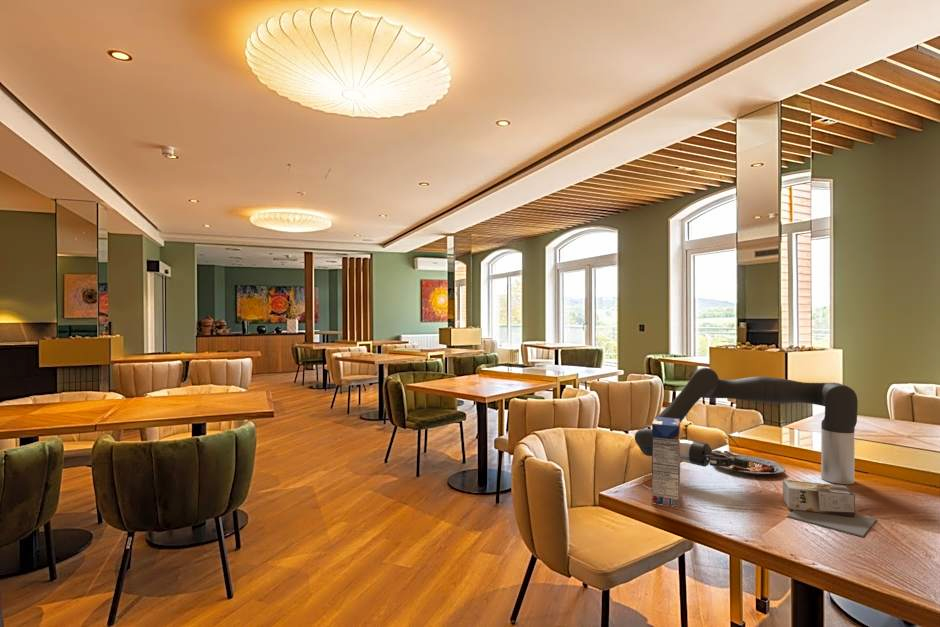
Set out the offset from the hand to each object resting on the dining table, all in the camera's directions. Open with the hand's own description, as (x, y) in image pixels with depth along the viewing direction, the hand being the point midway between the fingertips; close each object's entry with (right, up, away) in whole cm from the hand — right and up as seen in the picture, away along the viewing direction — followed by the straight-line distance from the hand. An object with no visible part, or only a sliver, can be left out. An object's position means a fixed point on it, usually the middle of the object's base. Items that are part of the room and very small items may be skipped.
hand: (748, 464), depth 156 cm
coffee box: (+7, -7, -6) cm, 12 cm away
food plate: (+16, -11, +30) cm, 36 cm away
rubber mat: (+14, -10, -16) cm, 24 cm away
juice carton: (-26, -10, -2) cm, 28 cm away
